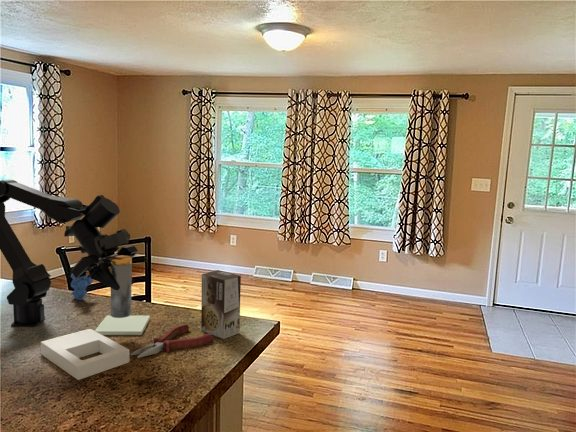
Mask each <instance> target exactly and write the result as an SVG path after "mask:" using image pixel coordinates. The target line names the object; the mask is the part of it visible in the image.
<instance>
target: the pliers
mask: <svg viewBox="0 0 576 432" xmlns="http://www.w3.org/2000/svg"><path fill="white" fill-rule="evenodd" d="M189 329H190V327H189V325H188V324H181V325H178V326H175V327H173V328H171V329H169V330H168V331H167V332H166V333H165V334H164V335H163V336H161V338H160V337H155V338H154V339H153V341H152V343H149V344H147V345H145V346H142V347H140V348H138V349H136V350H134V351H133V352H129V356H135V355H137V357H136V358H137V359H141V358H143V357H144V358H145V357H148V356H151V355H156V354H158V353H160V352H162V351H163V352H164V351H165V352H166V353H169V352H170V351H171V350H180V349H189V348H197V347H201V346H205V345H207V344H209V343H211V342H212V341H213V335H211V334H209V333H206V334H202V335H201V336H197V337H191V338H190V337H189V338H179V339H173V338H175V336H179V335H181V334H183V333H186V332H189Z"/></svg>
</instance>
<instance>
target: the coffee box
mask: <svg viewBox="0 0 576 432" xmlns="http://www.w3.org/2000/svg"><path fill="white" fill-rule="evenodd" d="M241 279H242V276H241V275H240V274H235V273H231V272H227V271H223V270H219V269H217V270H212V271H209V272H206V273H202V274H201V308H200V309H201V313H200V314H201V321H200V323H201V324H200V325H201V327H200V329H201V332H204V333H206V334H208V333H209V334H211V335H212V336H214V337H217V338H220V339H223V340H225V339H227V338H231V337H233V336H235V335H238V334H240V328H241V327H240V325H241V323H240V320H241V319H240V318H241V285H242V284H241V282H242V281H241Z"/></svg>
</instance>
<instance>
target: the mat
mask: <svg viewBox="0 0 576 432" xmlns="http://www.w3.org/2000/svg"><path fill="white" fill-rule="evenodd" d="M150 320H151V315H130V316H128V317H124V318H114V317H112V316H111V314H110V315H108V314H107V315H106V316H105V317H104V318H103V319H102V321H101V322H100V324H99V325H97V327H96V328H95V330H94V331H96V332H97V333H99V334H101V335H103V336H142V335H143V334H144V332H145V329H146V328H147V327H148V324H149V322H150Z"/></svg>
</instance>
